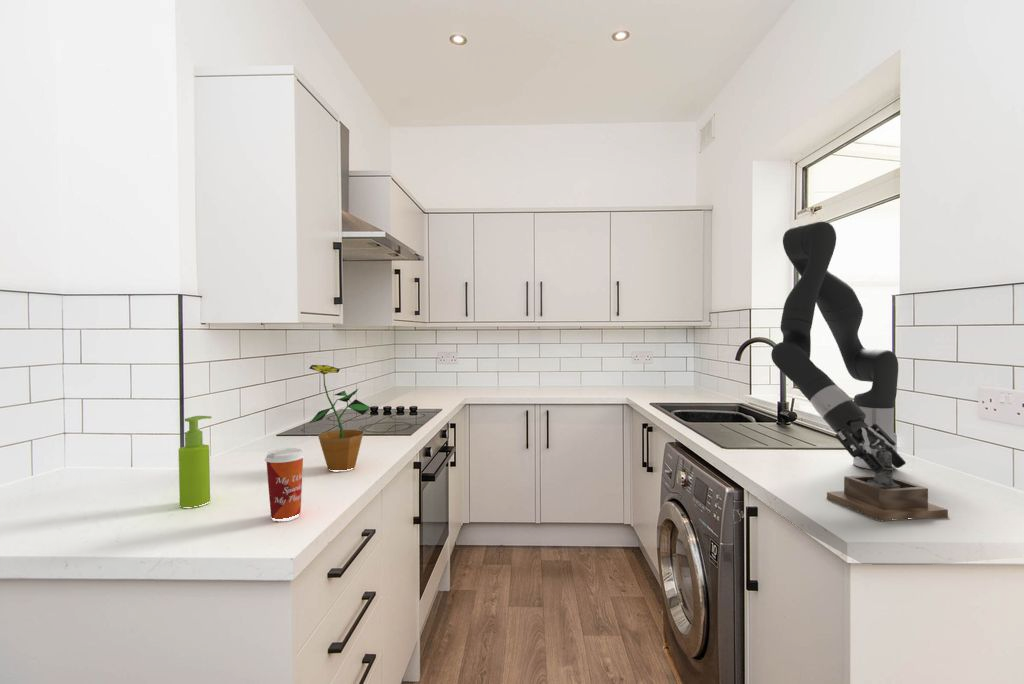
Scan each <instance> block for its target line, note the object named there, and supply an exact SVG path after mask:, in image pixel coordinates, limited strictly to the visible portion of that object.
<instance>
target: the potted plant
mask: <svg viewBox="0 0 1024 684" xmlns="http://www.w3.org/2000/svg"><path fill="white" fill-rule="evenodd" d="M308 368H309V370H312V371H316V372H319V373H321V374H322V375H323V387H324V391H325V394H326V397H327V400H328V403H329V404H330V405H331V407H329V408H326V409H323V410H320V411H318V412H317V413H316V415H314V417H313V418H312V419H311V420H310V422H309V424H312V423H315V422H319V421H322V420H323V419H324V418H325V416H327V414H328V413H329V412H330V411H331V410H332V411H333V412H334V414H335V417H336V420H337V423H338V427H339V430H338V429H337V430H330V431H324V432H322V433H319V434H318V435H317V436H318V440H319V443H320V447H321V450H322V453H323V456H324V461H325V464H326V467H327V470H328V469H330V470H347V469H351V468H354V467H355V468H356V464H357V459H358V455H359V451H360V447H361V445H362V440H363V436H364V431H361V430H357V429H343V425H342V422H341V420H340V419H341V418H342V417H343V415H344V413H345V412H346V410H347V409H348V408H349V409H351V410H353V411H355V412H356V413H359V414H360V415H364V414H365V413H366V412H368V411H369V409H371V406H369V405H367V404H365V403H363V402H362V401H360V400H358V399H354V400H353V401H351V398H352V397H353V396H354V395H356V393H357V392H358V390H359V388H357V389H355V390H354V391H352V392H351V393H349V394H347V392H346V391H345V390H343V391H341V392H338V393H335V394H334V396H339V397H341V396H343V397H341V398H337V399H336V400H335V402H334V403H333V402H332V399H331V398H330V396H329V393H328V390H327V386H326V379H325V378H326V377H325V375H327V374H329V373H332V374H334V373H337V374H338V373H339V372H340V370H341V369H340V368H338V367H334V366H330V365H329V364H328V365H327V364H326V365H325V364H324V365H323V364H322V365H321V364H311V365H310V367H308ZM338 401H340V402H344V403H346V407H345V408H344V410H343V411H342V412H341V414H340V415H338V413H337V410H336V406H335V405H336V404H337V402H338ZM349 402H350V403H349ZM355 468H354V469H355Z"/></svg>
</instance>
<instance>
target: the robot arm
mask: <svg viewBox="0 0 1024 684" xmlns="http://www.w3.org/2000/svg"><path fill="white" fill-rule="evenodd" d="M836 233H837V232H836V229H835V227H834V226H833V224H831V223H830V222H829V221H825V220H819V221H815V222H810V223H806V224H803V225H802V224H801V225H797V226H793V227H790V228H789V229H787V230H786V231H785V232H784V234H783V237H782V246H783V249H784V252H785V254H786V256H787V258H788V260H789V261H790V263H791V264H792V265H793V267H794V268H795V269H796V271H797V273H798V274H799V275H800V278H799V279H798V280H797V283H795V285H794V287H793V288H792V290H790V292H789V294H788V295H787V297H786V299H785V301H784V305H783V309H782V315H781V321H780V331H781V333H782V337H783V338H782V341H781V342H779V343H776V345H774V346H773V348H772V351H771V355H770V356H771V360H772V362H773V364H774V365H775V366H776V367H777V369H779V371H781V373H783V374H784V375H785V376H786V377H787V378H788V379H789V380H790V382H791V381H792V382H793V384H794V385H795V386H796V387H797V389H799V391H800V392H801V394H803V396H804V397H805V398H806V400H808V401H809V402H810V404H811V406H813V408H814V410H815V411H816V412H817V413H818V415H819V416H820V417H821V418H822V419H823V420H824V422H826V423H827V425H828V426H829V427H830V429H832V430H833V432H834V433H836V434H835V435H834V436H835V437H836V439H837V440H838V441H839V443H840V444H841V445H842V446H843V447H844V449H845V450H846V451H847V452H848V454H850V456H851V457H852V458H853V459H852V461H853V462H852V464H853V465H854V466H856V467H860V468H863V469H865V470H866V469H867V470H872V471H873V472H874V474H875V473H879V472H881V471H883V470H884V469H885V467H884V466H883V464H882V463H881V462H880V461H879V460H878V459H877V458H876V452H877V451H878V450H881V449H883V448H882V447H883V446H884V447H885V450H887V451H889V452H890V453H891V454H892V467H894V469H900V468H902V467H903V466H904V465H906V464H907V463H906V461H905V460H904V458H902V457H901V455H900V454H899V453H898V450H897V448H898V436H897V434H896V433H895V432H894V431H895V429H894V428H895V427H894V426H895V401H896V398H897V391H898V378H899V360H898V357H897V355H896V353H894V352H893V351H892V350H888V349H871V348H870V349H866V348H865V347H864V346H863V345H862V342H861V341H860V339H859V334H858V333H859V329H860V327H861V324H862V320H863V318H864V309H863V305H862V304H861V302H860V299H859V298H858V295H857V294H856V292H855V290H854V289H853V288H852V287H851V285H849V284H848V283H847V282H845V281H844V280H843V279H841V278H840V277H838V276H837V275H835V274H833V272H831V271H829V270H828V268H829V265H830V264H831V260H832V258H833V254H834V251H835V249H836V244H837V234H836ZM816 305H817V307H818V309H819V311H820V314H821V316H822V317H823V319H824V321H825V323H826V324H827V326H828V328H829V330H830V332H831V334H832V337H833V339H834V340H835V343H836V345H837V347H838V350H839V352H840V355H841V357H842V360H843V362H844V365H845V368H846V370H847V372H848V374H849V375H850V376H851V378H852V379H854V380H857V381H860V382H868V383H872V384H871V388H870V389H869V390H868V391H865V392H862V393H857V394H856V395H854V396H853V399H852V398H851V396H849V395H848V394H847V393H846V392H845V391H844V390H843V389H842V388H841V387H839V385H837V384H836V383H835V382H834V381H833V379H831V377H829V375H828V374H827V373H825V372H824V371H823V370H822V369H820V368H819V367H818V366H817V365H816V364H814V363H813V361H812V360H811V349H812V348H811V346H812V344H811V337H812V336H811V330H812V327H813V326H812V325H813V322H814V315H815V310H816V308H815V307H816Z"/></svg>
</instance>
